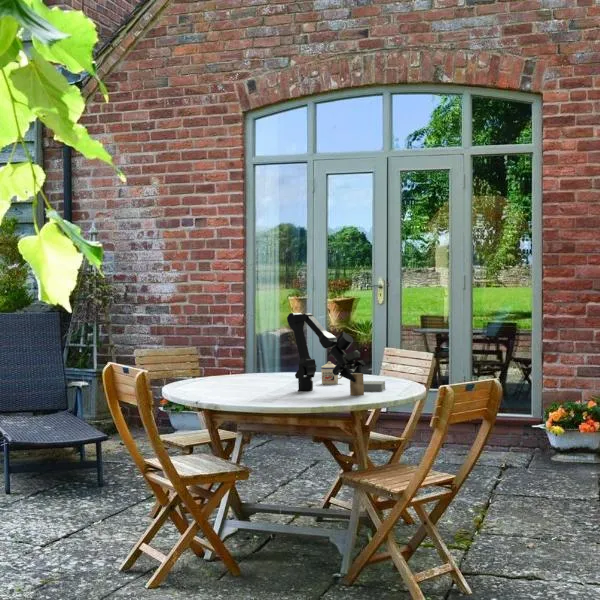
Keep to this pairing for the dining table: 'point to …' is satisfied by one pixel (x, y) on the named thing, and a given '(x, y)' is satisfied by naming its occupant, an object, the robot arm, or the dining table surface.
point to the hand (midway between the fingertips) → (358, 381)
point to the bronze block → (357, 385)
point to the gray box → (374, 385)
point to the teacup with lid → (329, 374)
